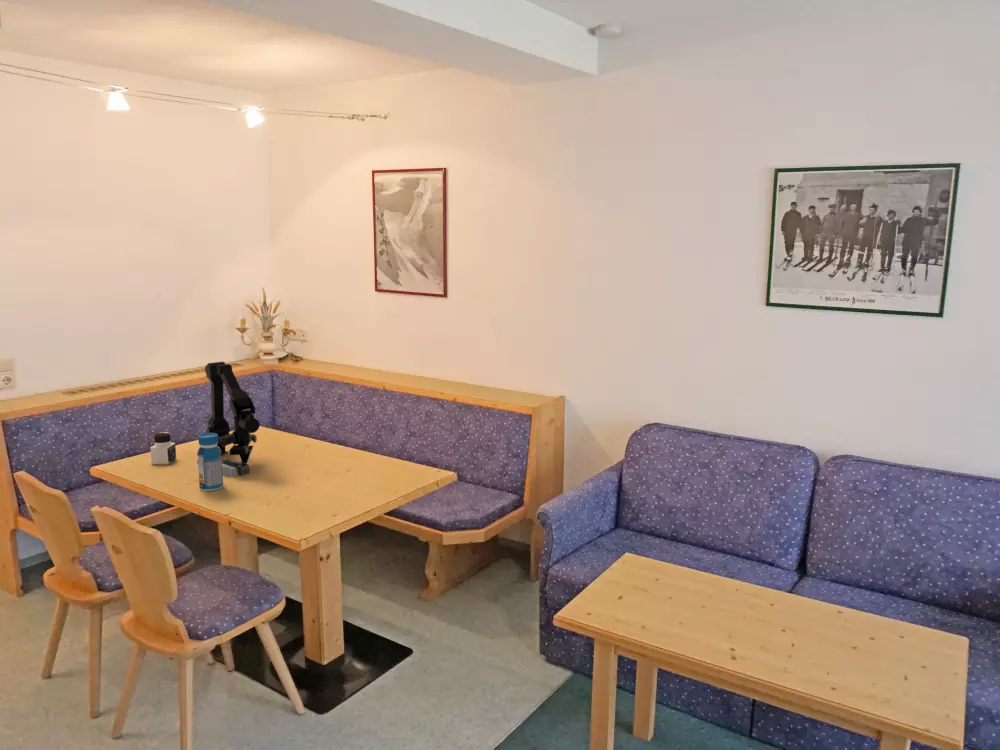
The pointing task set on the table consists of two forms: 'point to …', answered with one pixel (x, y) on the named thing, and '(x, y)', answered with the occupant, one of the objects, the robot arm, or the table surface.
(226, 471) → the door board
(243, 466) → the grey square block
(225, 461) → the lock bar
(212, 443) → the beverage bottle
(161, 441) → the medicine bottle
